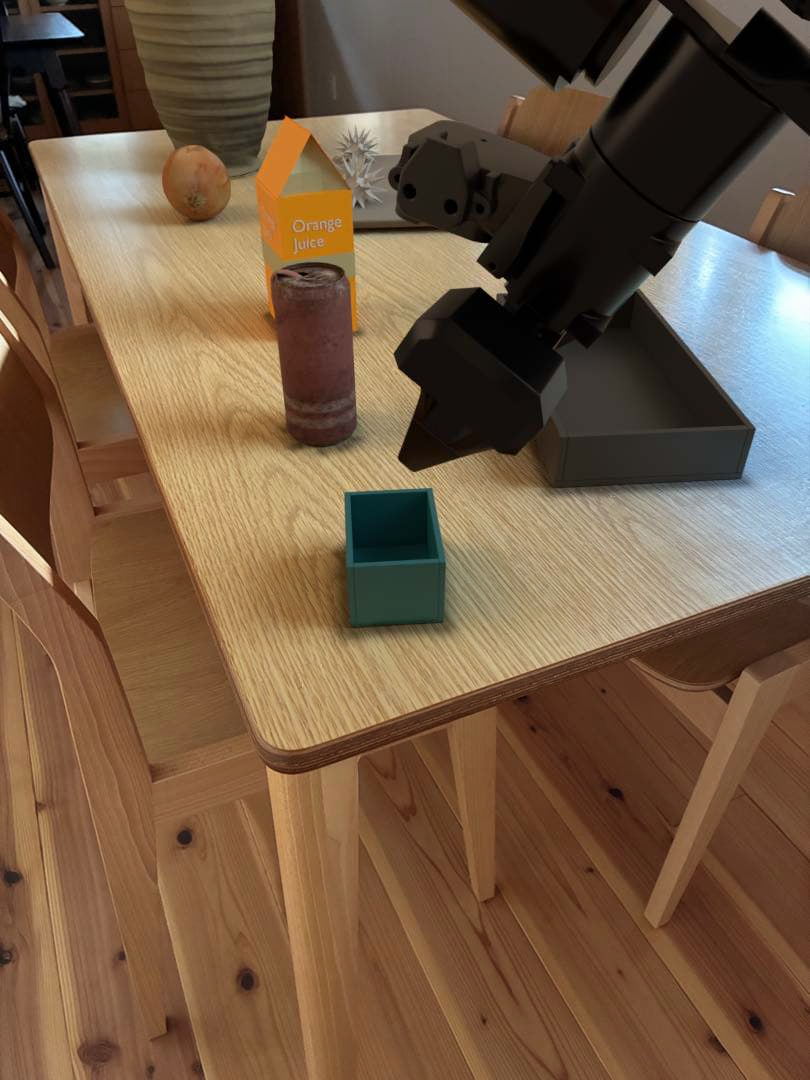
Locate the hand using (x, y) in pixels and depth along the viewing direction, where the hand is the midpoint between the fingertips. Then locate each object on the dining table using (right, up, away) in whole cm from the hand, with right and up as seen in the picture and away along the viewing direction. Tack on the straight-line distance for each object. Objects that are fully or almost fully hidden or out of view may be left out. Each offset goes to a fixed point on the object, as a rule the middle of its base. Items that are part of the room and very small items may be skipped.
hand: (441, 421), depth 43 cm
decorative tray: (-2, +47, +85) cm, 97 cm away
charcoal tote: (+16, +7, +33) cm, 37 cm away
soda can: (-9, +3, +28) cm, 30 cm away
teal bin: (-3, -9, +12) cm, 15 cm away
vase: (-35, +61, +102) cm, 124 cm away
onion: (-32, +42, +78) cm, 94 cm away
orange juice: (-12, +18, +47) cm, 52 cm away
